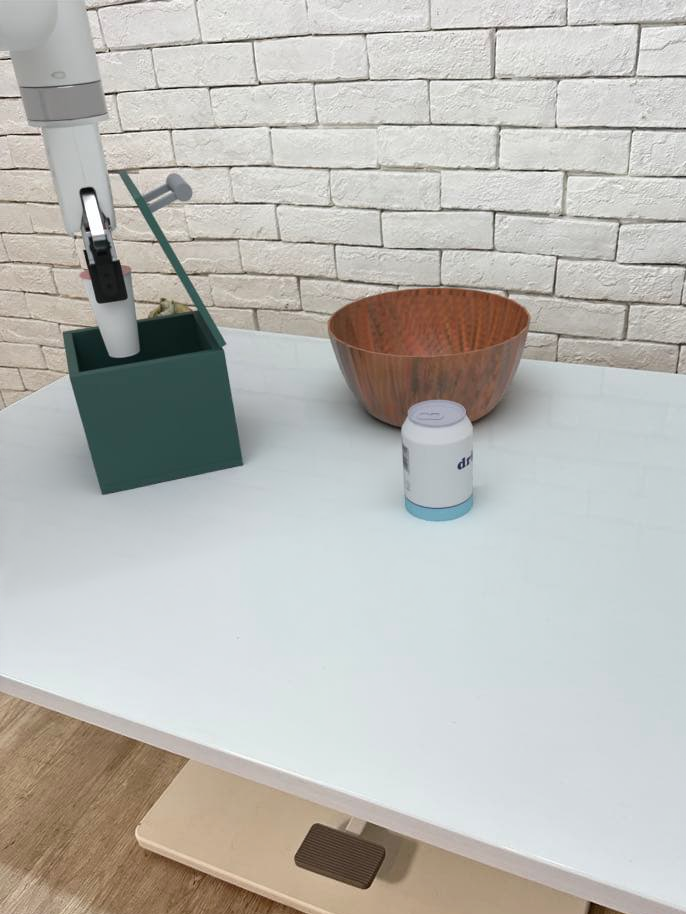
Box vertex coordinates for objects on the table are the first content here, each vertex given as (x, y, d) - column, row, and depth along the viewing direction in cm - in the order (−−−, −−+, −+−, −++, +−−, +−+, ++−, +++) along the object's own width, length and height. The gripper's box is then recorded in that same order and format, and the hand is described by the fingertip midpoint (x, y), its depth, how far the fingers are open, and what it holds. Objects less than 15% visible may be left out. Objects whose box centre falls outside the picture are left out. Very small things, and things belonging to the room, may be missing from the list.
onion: (212, 344, 133) (203, 293, 129) (166, 358, 129) (155, 306, 124) (186, 333, 138) (177, 283, 133) (142, 346, 133) (130, 296, 129)
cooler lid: (134, 199, 81) (186, 171, 81) (118, 173, 93) (163, 149, 93) (220, 348, 91) (266, 322, 92) (196, 307, 103) (236, 285, 104)
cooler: (102, 495, 95) (69, 377, 87) (91, 439, 107) (62, 331, 99) (243, 464, 99) (224, 350, 92) (218, 415, 111) (199, 309, 103)
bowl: (427, 470, 96) (424, 375, 90) (296, 407, 112) (286, 322, 106) (567, 402, 110) (573, 315, 104) (433, 353, 126) (431, 276, 119)
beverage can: (466, 540, 84) (465, 430, 78) (398, 533, 86) (392, 425, 79) (477, 504, 90) (478, 399, 83) (414, 498, 91) (409, 394, 85)
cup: (148, 357, 94) (123, 245, 87) (98, 363, 93) (69, 251, 86) (149, 341, 98) (125, 233, 91) (101, 346, 97) (73, 238, 90)
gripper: (22, 99, 87) (69, 277, 97) (25, 119, 74) (78, 323, 84) (98, 93, 89) (136, 267, 99) (114, 111, 76) (156, 310, 86)
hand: (109, 291), depth 91 cm, fingers closed on cup, 5 cm apart
